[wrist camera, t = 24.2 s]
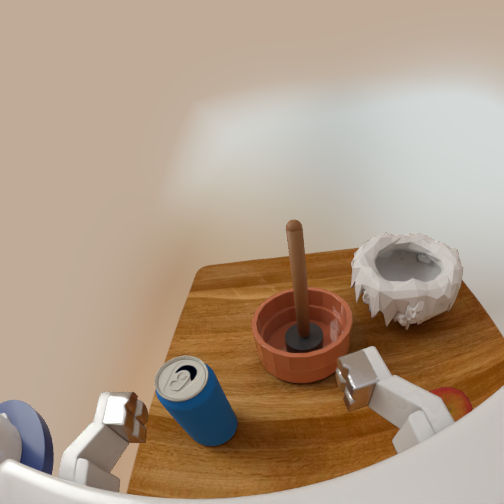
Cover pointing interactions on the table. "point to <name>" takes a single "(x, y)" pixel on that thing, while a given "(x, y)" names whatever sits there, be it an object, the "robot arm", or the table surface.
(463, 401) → the apple
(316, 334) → the plunger
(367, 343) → the table surface
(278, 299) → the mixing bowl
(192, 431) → the beverage can
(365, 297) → the bowl
